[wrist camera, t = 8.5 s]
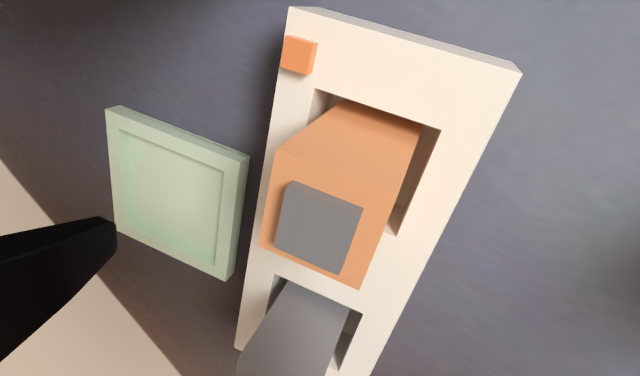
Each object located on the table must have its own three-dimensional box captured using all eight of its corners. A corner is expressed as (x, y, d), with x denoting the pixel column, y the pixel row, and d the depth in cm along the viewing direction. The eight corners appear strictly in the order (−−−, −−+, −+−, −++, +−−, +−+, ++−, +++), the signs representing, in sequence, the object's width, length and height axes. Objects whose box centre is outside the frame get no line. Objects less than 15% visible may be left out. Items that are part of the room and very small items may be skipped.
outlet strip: (365, 363, 26) (350, 417, 23) (258, 312, 28) (229, 354, 25) (511, 61, 15) (525, 76, 12) (319, 7, 17) (282, 5, 14)
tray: (234, 271, 27) (225, 281, 26) (127, 222, 29) (115, 229, 28) (250, 155, 22) (240, 162, 21) (119, 104, 24) (104, 109, 23)
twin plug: (344, 323, 25) (293, 453, 17) (292, 299, 25) (223, 414, 18) (360, 282, 23) (311, 410, 15) (303, 258, 23) (230, 368, 16)
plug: (424, 123, 17) (394, 205, 10) (396, 192, 19) (354, 302, 12) (346, 97, 18) (266, 155, 11) (327, 166, 20) (249, 255, 13)
